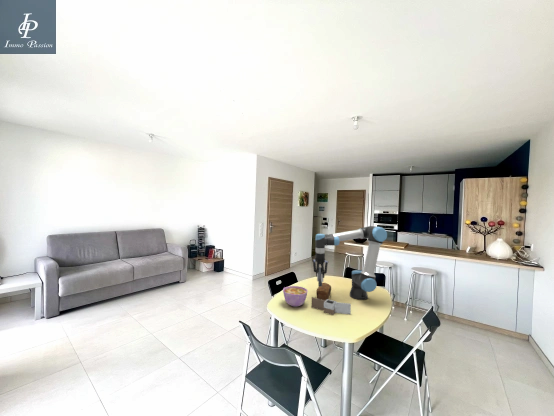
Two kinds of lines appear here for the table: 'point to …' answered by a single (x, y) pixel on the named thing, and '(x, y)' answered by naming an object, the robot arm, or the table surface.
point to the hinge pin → (319, 276)
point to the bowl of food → (295, 295)
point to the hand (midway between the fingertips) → (320, 281)
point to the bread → (323, 291)
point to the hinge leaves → (331, 306)
